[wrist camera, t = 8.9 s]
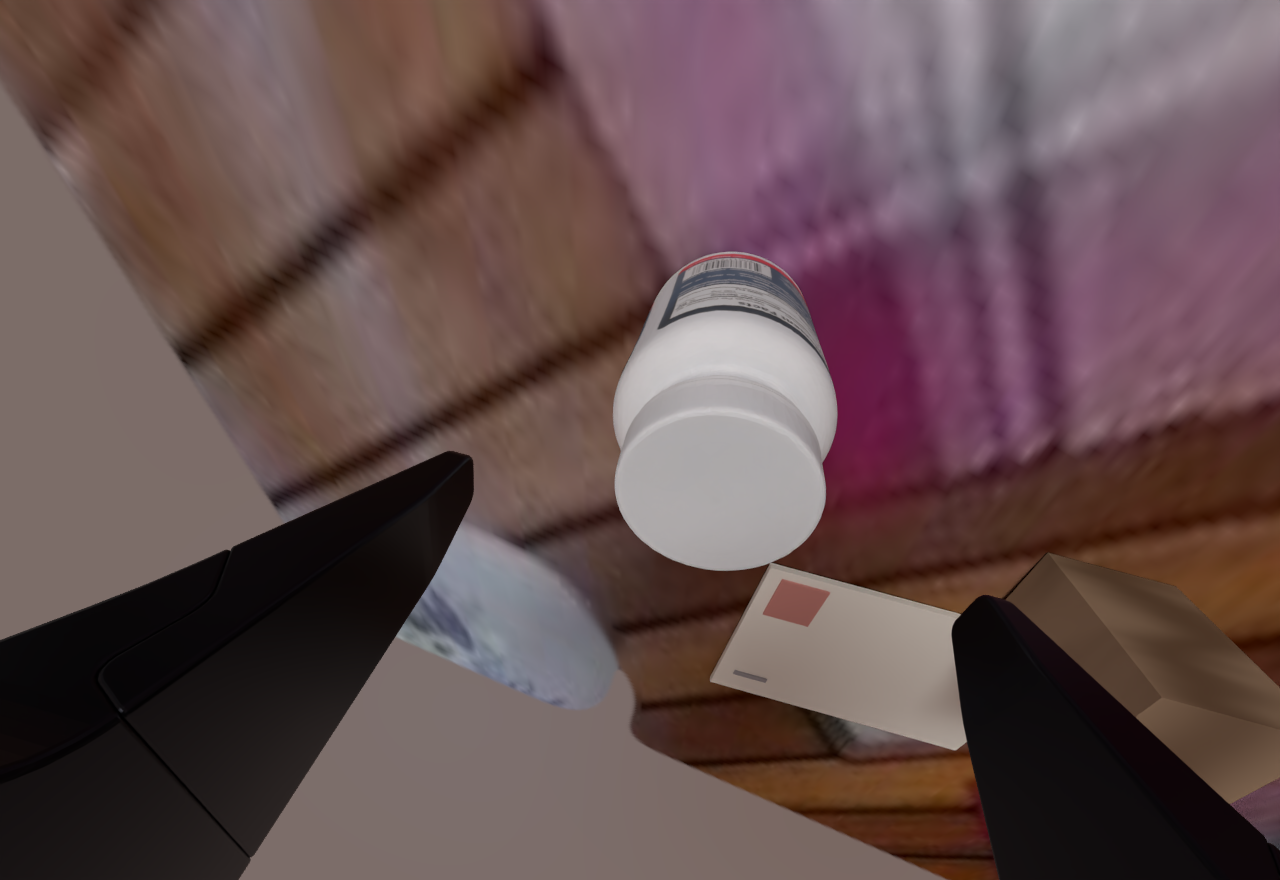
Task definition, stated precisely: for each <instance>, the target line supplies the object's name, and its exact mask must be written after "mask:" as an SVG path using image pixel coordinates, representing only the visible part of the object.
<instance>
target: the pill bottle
mask: <svg viewBox="0 0 1280 880" xmlns="http://www.w3.org/2000/svg"><path fill="white" fill-rule="evenodd" d="M613 423H614V430H615V435H616V438H617V441H618V444H619V447H620V449H621V453H620V457H619V460H618V464H617V468H616V473H615V494H616V500H617V503H618V506H619V509H620V512H621V514H622V516H623V518H624V519H625V521H626V523H627V524H628V525H629V527H630V528H631V529H632V531H633V532H634V533H635V534H636V535H637V536H638V537H639V538H640V539H641V540H642V541H643V542H644V543H646V544H647V545H648V546H650V547H651V548H652V549H653V550H655V551H657V552H659V553H661V554H662V555H664V556H666V557H668V558H670V559H672V560H674V561H677V562H680V563H683V564H685V565H689V566H693V567H697V568H702V569H707V570H716V571H732V570H744V569H749V568H755V567H759V566H763V565H766V564H768V563H771V562H773V561H775V560H778V559H780V558H782V557H785V556H786V555H788V554H790V553H791V552H792V551H793V550H795V549H796V548H797V547H799V546H800V545H801V544H803V543H804V542H805V540H806V539H807V538H808V537H809V536H810V535H811V533H812V532H813V531H814V529H815V528H816V526H817V524H818V522H819V520H820V518H821V515H822V512H823V509H824V505H825V500H826V484H825V478H824V472H823V466H822V463H823V461H824V459H825V457H826V456H827V454H828V452H829V450H830V447H831V445H832V442H833V439H834V435H835V432H836V425H837V402H836V395H835V390H834V386H833V382H832V379H831V376H830V373H829V370H828V367H827V364H826V361H825V358H824V355H823V352H822V349H821V346H820V343H819V341H818V337H817V334H816V331H815V329H814V325H813V323H812V320H811V316H810V313H809V310H808V307H807V304H806V302H805V300H804V297H803V295H802V293H801V291H800V289H799V288H798V286H797V285H796V283H795V282H794V281H793V280H792V278H791V277H790V276H789V275H788V274H787V273H786V272H785V271H784V270H782V269H781V268H780V267H778V266H777V265H775V264H774V263H772V262H771V261H769V260H766V259H764V258H762V257H759V256H756V255H753V254H748V253H743V252H720V253H715V254H711V255H707V256H704V257H701V258H699V259H697V260H695V261H693V262H691V263H689V264H687V265H686V266H684V267H683V268H682V269H680V270H679V271H678V272H677V273H675V274H674V275H673V276H672V277H671V278H670V279H669V280H668V281H667V283H666V284H665V285H664V286H663V288H662V289H661V291H660V292H659V294H658V296H657V297H656V299H655V301H654V304H653V306H652V307H651V309H650V311H649V314H648V317H647V319H646V322H645V324H644V327H643V329H642V332H641V334H640V337H639V339H638V341H637V343H636V345H635V347H634V349H633V351H632V353H631V355H630V357H629V359H628V361H627V363H626V365H625V368H624V370H623V372H622V374H621V377H620V380H619V383H618V386H617V389H616V393H615V398H614V404H613Z"/></svg>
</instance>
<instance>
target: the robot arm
mask: <svg viewBox="0 0 1280 880" xmlns="http://www.w3.org/2000/svg"><path fill="white" fill-rule="evenodd" d="M473 492H474V470H473V460H472V458H471V457H470V456H469V455H465V454H461V453H458V452H454V451H447V452H444V453H442V454H440V455H437V456H435V457H433V458H431V459H428V460H426V461H424V462H422V463H419V464H417V465H415V466H413V467H411V468H408V469H406V470H404V471H402V472H399V473H397V474H395V475H393V476H390V477H388V478H386V479H384V480H381V481H379V482H377V483H375V484H372V485H370V486H368V487H366V488H363V489H361V490H359V491H357V492H354V493H352V494H350V495H348V496H345V497H343V498H341V499H339V500H337V501H334V502H332V503H330V504H328V505H325V506H323V507H321V508H319V509H316V510H314V511H312V512H310V513H307V514H305V515H303V516H301V517H298V518H296V519H294V520H292V521H289V522H287V523H285V524H283V525H281V526H278V527H276V528H274V529H272V530H269V531H267V532H265V533H263V534H260V535H258V536H256V537H254V538H251V539H249V540H247V541H245V542H242V543H240V544H238V545H236V546H234V547H233V548H232V549H231V551H229V550H224V551H222V552H220V553H217V554H215V555H213V556H211V557H208V558H206V559H204V560H202V561H199V562H197V563H195V564H192V565H190V566H188V567H186V568H183V569H181V570H179V571H176V572H174V573H171V574H169V575H167V576H164V577H162V578H160V579H157V580H155V581H153V582H150V583H148V584H146V585H143V586H140V587H138V588H135V589H133V590H130V591H128V592H125V593H123V594H120V595H118V596H115V597H112V598H110V599H107V600H105V601H102V602H100V603H97V604H95V605H92V606H90V607H87V608H84V609H81V610H79V611H76V612H73V613H71V614H68V615H66V616H63V617H60V618H58V619H55V620H52V621H50V622H47V623H44V624H42V625H39V626H36V627H34V628H31V629H29V630H26V631H23V632H20V633H18V634H15V635H13V636H10V637H7V638H5V639H2V640H0V880H239V878H240V877H241V875H242V874H243V872H244V870H245V869H246V867H247V866H248V864H249V863H250V857H252V856H253V855H254V854H255V853H256V851H257V850H258V848H259V847H260V845H261V844H262V842H263V840H264V839H265V837H266V836H267V834H268V833H269V831H270V830H271V828H272V827H273V825H274V823H275V822H276V820H277V819H278V817H279V815H280V814H281V813H282V811H283V810H284V808H285V806H286V805H287V803H288V802H289V800H290V799H291V797H292V796H293V794H294V793H295V791H296V789H297V788H298V786H299V785H300V783H301V782H302V780H303V779H304V777H305V775H306V774H307V772H308V771H309V769H310V768H311V766H312V765H313V763H314V762H315V760H316V759H317V757H318V755H319V754H320V752H321V751H322V749H323V748H324V746H325V745H326V743H327V741H328V740H329V738H330V737H331V735H332V734H333V732H334V731H335V729H336V728H337V726H338V725H339V723H340V721H341V720H342V718H343V717H344V715H345V714H346V712H347V710H348V709H349V707H350V706H351V704H352V703H353V701H354V700H355V698H356V697H357V695H358V694H359V692H360V690H361V689H362V687H363V686H364V684H365V683H366V681H367V680H368V678H369V677H370V675H371V673H372V672H373V670H374V669H375V667H376V666H377V664H378V662H379V661H380V660H381V658H382V656H383V655H384V653H385V652H386V650H387V649H388V647H389V646H390V644H391V643H392V641H393V639H394V638H395V636H396V635H397V633H398V632H399V630H400V629H401V627H402V626H403V624H404V622H405V621H406V619H407V618H408V616H409V615H410V613H411V612H412V610H413V609H414V607H415V605H416V604H417V602H418V601H419V599H420V598H421V596H422V595H423V593H424V592H425V590H426V588H427V587H428V585H429V584H430V582H431V580H432V579H433V577H434V575H435V573H436V571H437V569H438V568H439V566H440V564H441V562H442V560H443V558H444V556H445V554H446V552H447V550H448V548H449V546H450V544H451V542H452V540H453V538H454V536H455V533H456V531H457V529H458V527H459V525H460V523H461V521H462V519H463V517H464V515H465V513H466V511H467V509H468V507H469V505H470V503H471V500H472V497H473ZM951 637H952V645H953V652H954V660H955V668H956V676H957V684H958V691H959V699H960V707H961V713H962V720H963V726H964V730H965V735H966V740H967V744H968V748H969V753H970V757H971V761H972V765H973V770H974V774H975V778H976V782H977V787H978V791H979V795H980V799H981V804H982V808H983V812H984V816H985V821H986V825H987V829H988V834H989V838H990V842H991V846H992V851H993V855H994V859H995V863H996V868H997V872H998V876H999V880H1280V850H1278V849H1277V848H1276V847H1275V846H1274V845H1273V844H1270V843H1267V841H1266V839H1265V837H1264V836H1263V835H1262V834H1261V833H1260V832H1259V831H1258V830H1257V829H1256V828H1255V827H1253V826H1252V825H1251V824H1250V823H1249V822H1248V821H1247V820H1246V819H1245V818H1244V817H1243V816H1242V815H1240V814H1239V813H1238V812H1237V811H1236V810H1235V809H1234V808H1233V807H1232V806H1231V805H1230V804H1229V803H1228V802H1226V801H1225V800H1224V799H1223V798H1222V797H1221V796H1220V795H1219V794H1218V793H1217V792H1216V791H1215V790H1214V789H1212V788H1211V787H1210V786H1209V785H1208V784H1207V783H1206V782H1205V781H1204V780H1203V779H1202V778H1201V777H1199V776H1198V775H1197V774H1196V773H1195V772H1194V771H1193V770H1192V769H1191V768H1190V767H1189V766H1188V765H1187V764H1185V763H1184V762H1183V761H1182V760H1181V759H1180V758H1179V757H1178V756H1177V755H1176V754H1175V753H1174V752H1173V751H1171V750H1170V749H1169V748H1168V747H1167V746H1166V745H1165V744H1164V743H1163V742H1162V741H1161V740H1160V739H1158V738H1157V737H1156V736H1155V735H1154V734H1153V733H1152V732H1151V731H1150V730H1149V729H1148V728H1147V727H1146V726H1144V725H1143V724H1142V723H1141V722H1140V721H1139V720H1138V719H1137V718H1136V717H1135V716H1134V715H1133V714H1132V713H1130V712H1129V711H1128V710H1127V709H1126V708H1125V707H1124V706H1123V705H1122V704H1121V703H1120V702H1119V701H1118V700H1116V699H1115V698H1114V697H1113V696H1112V695H1111V694H1110V693H1109V692H1108V691H1107V690H1106V689H1105V688H1104V687H1102V686H1101V685H1100V684H1099V683H1098V682H1097V681H1096V680H1095V679H1094V678H1093V677H1092V676H1091V675H1090V674H1088V673H1087V672H1086V671H1085V670H1084V669H1083V668H1082V667H1081V666H1080V665H1079V664H1078V663H1077V662H1075V661H1074V660H1073V659H1072V658H1071V657H1070V656H1069V655H1068V654H1067V653H1066V652H1065V651H1064V650H1063V649H1061V648H1060V647H1059V646H1058V645H1057V644H1056V643H1055V642H1054V641H1053V640H1052V639H1051V638H1050V637H1049V636H1047V635H1046V634H1045V633H1044V632H1043V631H1042V630H1041V629H1040V628H1039V627H1038V626H1037V625H1036V624H1035V623H1033V622H1032V621H1031V620H1030V619H1029V618H1028V617H1027V616H1026V615H1025V614H1024V613H1023V612H1022V611H1021V610H1019V609H1018V608H1017V607H1016V606H1015V605H1014V604H1013V603H1011V602H1009V601H1007V600H1004V599H1000V598H997V597H993V596H989V595H982V596H980V597H978V598H977V599H976V600H975V601H974V602H973V603H972V604H971V605H970V606H969V607H968V608H967V609H966V610H965V611H964V612H963V613H962V614H961V615H960V616H959V617H958V618H957V619H956V620H955V622H954V624H953V626H952V632H951Z"/></svg>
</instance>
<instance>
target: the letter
mask: <svg viewBox="0 0 1280 880" xmlns="http://www.w3.org/2000/svg"><path fill="white" fill-rule="evenodd" d="M960 615H961V614H958V613H955V612H951V611H947V610H944V609H940V608H936V607H933V606H929V605H925V604H922V603H918V602H914V601H910V600H907V599H903V598H899V597H896V596H892V595H888V594H885V593H881V592H877V591H874V590H870V589H866V588H862V587H859V586H855V585H851V584H848V583H844V582H840V581H837V580H833V579H829V578H826V577H822V576H818V575H814V574H811V573H807V572H803V571H800V570H796V569H792V568H789V567H785V566H781V565H778V564H774V563H770V564H769V566H768V568H767V570H766V572H765V574H764V576H763V578H762V580H761V581H760V583H759V585H758V587H757V589H756V591H755V593H754V595H753V597H752V598H751V600H750V602H749V604H748V606H747V608H746V610H745V612H744V614H743V615H742V617H741V619H740V621H739V623H738V625H737V627H736V629H735V631H734V632H733V634H732V636H731V638H730V640H729V642H728V644H727V646H726V648H725V649H724V651H723V653H722V655H721V657H720V659H719V661H718V663H717V665H716V667H715V668H714V670H713V672H712V674H711V676H710V682H713V683H717V684H720V685H724V686H727V687H731V688H734V689H738V690H742V691H745V692H749V693H752V694H756V695H759V696H763V697H767V698H770V699H774V700H777V701H781V702H784V703H788V704H791V705H795V706H799V707H802V708H806V709H809V710H813V711H816V712H820V713H824V714H827V715H831V716H834V717H838V718H841V719H845V720H848V721H852V722H856V723H859V724H863V725H866V726H870V727H873V728H877V729H881V730H884V731H888V732H891V733H895V734H898V735H902V736H905V737H909V738H913V739H916V740H920V741H923V742H927V743H930V744H934V745H938V746H941V747H945V748H948V749H952V750H957V749H958V748H959V747H961V746H962V745H963V744H965V743H966V742H967V740H966V735H965V730H964V726H963V720H962V713H961V707H960V699H959V691H958V684H957V676H956V668H955V660H954V652H953V645H952V637H951V632H952V626H953V624H954V622H955V620H956V619H957V618H958V617H959V616H960Z"/></svg>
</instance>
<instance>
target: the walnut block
mask: <svg viewBox="0 0 1280 880" xmlns="http://www.w3.org/2000/svg"><path fill="white" fill-rule="evenodd" d="M1006 600H1007V601H1009V602H1011V603H1013V604H1014V605H1015V606H1016V607H1017V608H1018V609H1019V610H1021V611H1022V612H1023V613H1024V614H1025V615H1026V616H1027V617H1028V618H1029V619H1030V620H1031V621H1032V622H1033V623H1035V624H1036V625H1037V626H1038V627H1039V628H1040V629H1041V630H1042V631H1043V632H1044V633H1045V634H1046V635H1047V636H1049V637H1050V638H1051V639H1052V640H1053V641H1054V642H1055V643H1056V644H1057V645H1058V646H1059V647H1060V648H1061V649H1063V650H1064V651H1065V652H1066V653H1067V654H1068V655H1069V656H1070V657H1071V658H1072V659H1073V660H1074V661H1075V662H1077V663H1078V664H1079V665H1080V666H1081V667H1082V668H1083V669H1084V670H1085V671H1086V672H1087V673H1088V674H1090V675H1091V676H1092V677H1093V678H1094V679H1095V680H1096V681H1097V682H1098V683H1099V684H1100V685H1101V686H1102V687H1104V688H1105V689H1106V690H1107V691H1108V692H1109V693H1110V694H1111V695H1112V696H1113V697H1114V698H1115V699H1116V700H1118V701H1119V702H1120V703H1121V704H1122V705H1123V706H1124V707H1125V708H1126V709H1127V710H1128V711H1129V712H1130V713H1132V714H1133V715H1134V716H1135V717H1136V718H1137V719H1138V720H1139V721H1140V722H1141V723H1142V724H1143V725H1144V726H1146V727H1147V728H1148V729H1149V730H1150V731H1151V732H1152V733H1153V734H1154V735H1155V736H1156V737H1157V738H1158V739H1160V740H1161V741H1162V742H1163V743H1164V744H1165V745H1166V746H1167V747H1168V748H1169V749H1170V750H1171V751H1173V752H1174V753H1175V754H1176V755H1177V756H1178V757H1179V758H1180V759H1181V760H1182V761H1183V762H1184V763H1185V764H1187V765H1188V766H1189V767H1190V768H1191V769H1192V770H1193V771H1194V772H1195V773H1196V774H1197V775H1198V776H1199V777H1201V778H1202V779H1203V780H1204V781H1205V782H1206V783H1207V784H1208V785H1209V786H1210V787H1211V788H1212V789H1214V790H1215V791H1216V792H1217V793H1218V794H1219V795H1220V796H1221V797H1222V798H1223V799H1224V800H1225V801H1226V802H1228V803H1229V804H1231V803H1233V802H1235V801H1237V800H1238V799H1240V798H1242V797H1244V796H1246V795H1248V794H1250V793H1252V792H1253V791H1255V790H1257V789H1259V788H1261V787H1263V786H1265V785H1266V784H1268V783H1270V782H1272V781H1274V780H1276V779H1278V778H1280V688H1279V687H1278V686H1277V685H1276V684H1275V683H1274V682H1273V681H1272V680H1271V679H1270V678H1269V677H1268V676H1267V675H1266V674H1265V673H1264V672H1263V671H1262V670H1261V669H1260V668H1259V667H1258V666H1257V665H1256V664H1255V663H1254V662H1253V661H1252V660H1251V659H1250V658H1249V657H1248V656H1247V655H1246V654H1244V653H1243V652H1242V651H1241V650H1240V649H1239V648H1238V647H1237V646H1236V645H1235V644H1234V643H1233V642H1232V641H1231V640H1230V639H1229V638H1228V637H1227V636H1226V635H1225V634H1224V633H1223V632H1222V631H1221V630H1220V629H1219V628H1218V627H1217V626H1216V625H1215V624H1214V623H1213V622H1212V621H1211V620H1210V619H1209V618H1208V617H1207V616H1206V615H1205V614H1204V613H1203V612H1202V611H1200V610H1199V609H1198V608H1197V607H1196V606H1195V605H1194V604H1193V603H1192V602H1191V601H1190V600H1189V599H1188V598H1187V597H1186V596H1185V595H1184V594H1183V593H1182V592H1181V591H1180V590H1179V589H1178V588H1177V587H1176V586H1172V585H1168V584H1164V583H1161V582H1157V581H1153V580H1149V579H1145V578H1142V577H1138V576H1134V575H1130V574H1127V573H1123V572H1119V571H1115V570H1111V569H1108V568H1104V567H1100V566H1096V565H1092V564H1089V563H1085V562H1081V561H1077V560H1074V559H1070V558H1066V557H1062V556H1058V555H1055V554H1051V553H1047V554H1046V555H1045V556H1044V557H1043V558H1042V560H1041V561H1040V562H1039V563H1038V564H1037V565H1036V566H1035V567H1034V568H1033V570H1032V571H1031V572H1030V573H1029V574H1028V575H1027V576H1026V577H1025V579H1024V580H1023V581H1022V582H1021V583H1020V584H1019V585H1018V586H1017V587H1016V589H1015V590H1014V591H1013V592H1012V593H1011V594H1010V595H1009V596H1008V598H1007V599H1006Z"/></svg>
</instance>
